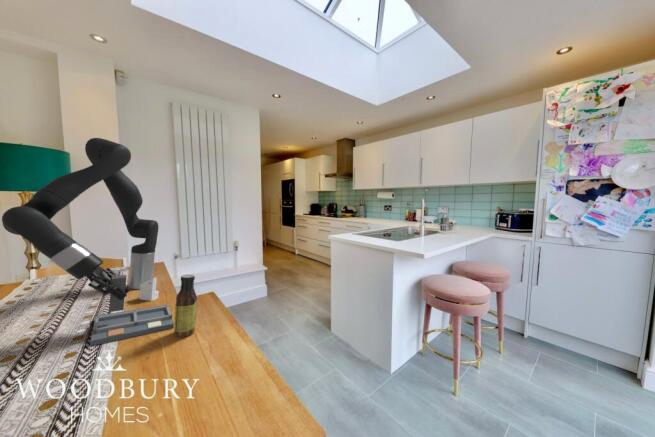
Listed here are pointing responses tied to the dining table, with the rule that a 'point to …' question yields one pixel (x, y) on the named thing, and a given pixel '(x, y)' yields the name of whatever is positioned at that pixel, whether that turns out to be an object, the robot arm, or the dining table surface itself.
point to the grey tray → (130, 324)
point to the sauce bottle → (185, 307)
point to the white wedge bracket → (149, 290)
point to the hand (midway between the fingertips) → (125, 294)
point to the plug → (121, 284)
